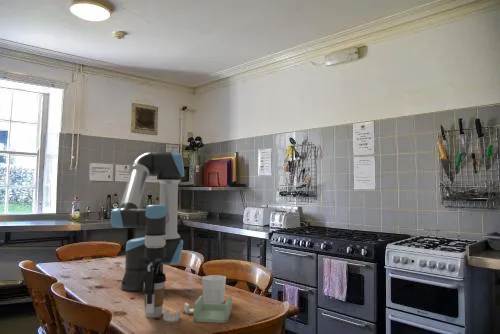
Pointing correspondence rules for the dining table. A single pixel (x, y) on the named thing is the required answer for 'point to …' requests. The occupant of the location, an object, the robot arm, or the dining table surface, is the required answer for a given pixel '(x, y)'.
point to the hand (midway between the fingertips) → (153, 308)
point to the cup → (213, 289)
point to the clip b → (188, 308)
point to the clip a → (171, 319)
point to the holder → (211, 311)
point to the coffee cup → (156, 295)
